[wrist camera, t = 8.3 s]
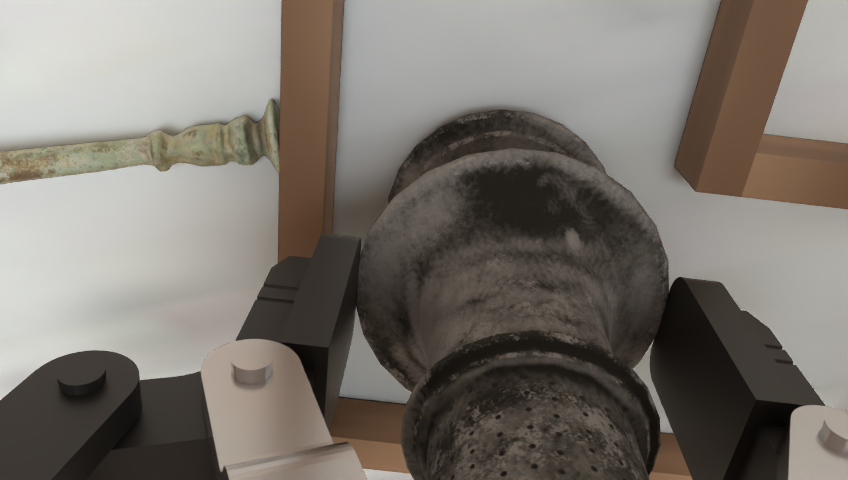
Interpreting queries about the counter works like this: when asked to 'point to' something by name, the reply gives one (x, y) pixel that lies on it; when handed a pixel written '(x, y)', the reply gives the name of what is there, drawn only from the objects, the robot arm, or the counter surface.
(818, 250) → the counter surface
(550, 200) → the salt shaker
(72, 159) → the soupspoon
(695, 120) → the track
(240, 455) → the robot arm
